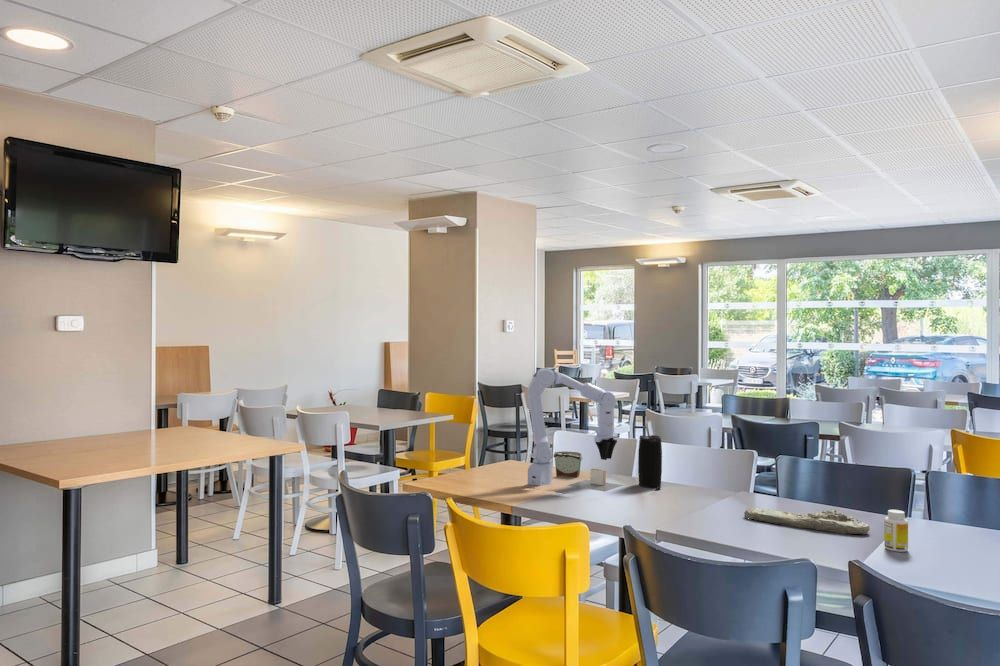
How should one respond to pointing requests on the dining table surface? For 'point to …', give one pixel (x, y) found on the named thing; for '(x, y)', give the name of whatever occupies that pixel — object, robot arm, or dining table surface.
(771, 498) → the dining table surface
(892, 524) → the supplement bottle
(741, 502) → the dining table surface
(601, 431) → the robot arm
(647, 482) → the portable speaker
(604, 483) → the tile
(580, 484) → the slate board
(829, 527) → the long grey stone
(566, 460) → the food container
